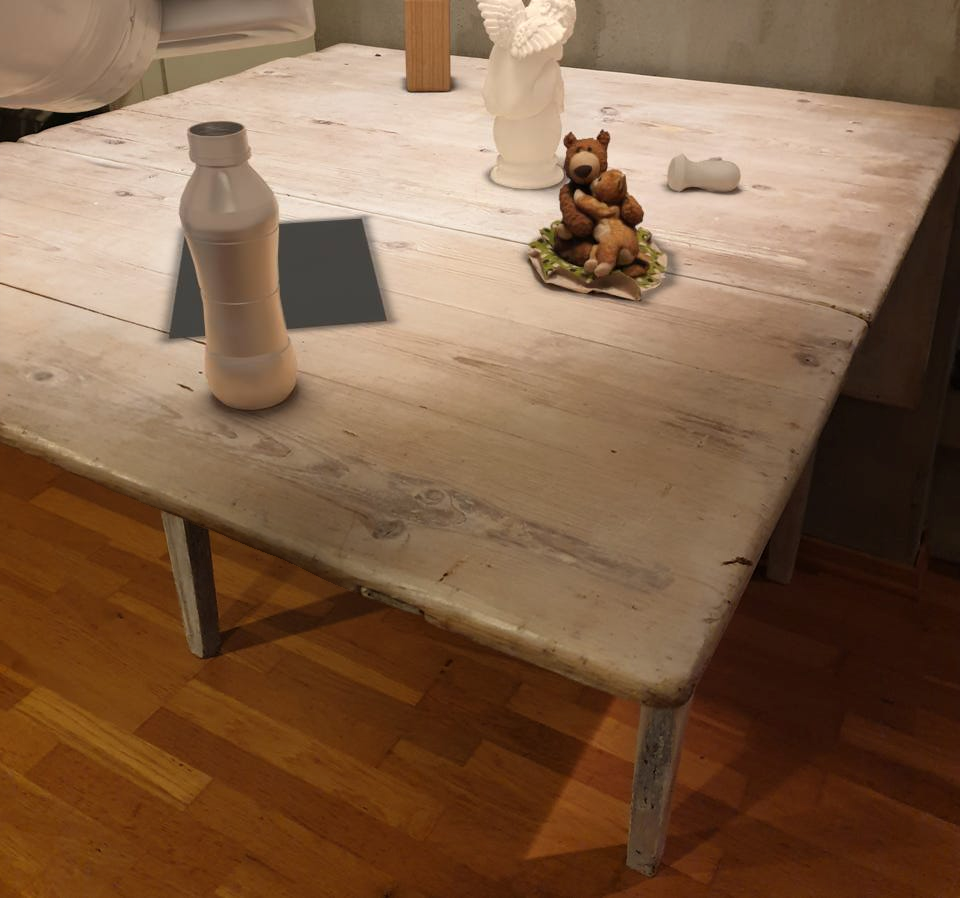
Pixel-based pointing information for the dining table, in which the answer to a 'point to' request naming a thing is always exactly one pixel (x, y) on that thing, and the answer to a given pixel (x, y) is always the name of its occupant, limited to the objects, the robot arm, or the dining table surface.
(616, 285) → the bear figurine
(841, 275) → the dining table surface
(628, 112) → the dining table surface
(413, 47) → the decorative item
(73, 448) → the dining table surface
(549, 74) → the cherub figurine
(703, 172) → the pale two-lobed sculpture
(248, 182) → the plastic bottle
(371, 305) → the mat
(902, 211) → the dining table surface
